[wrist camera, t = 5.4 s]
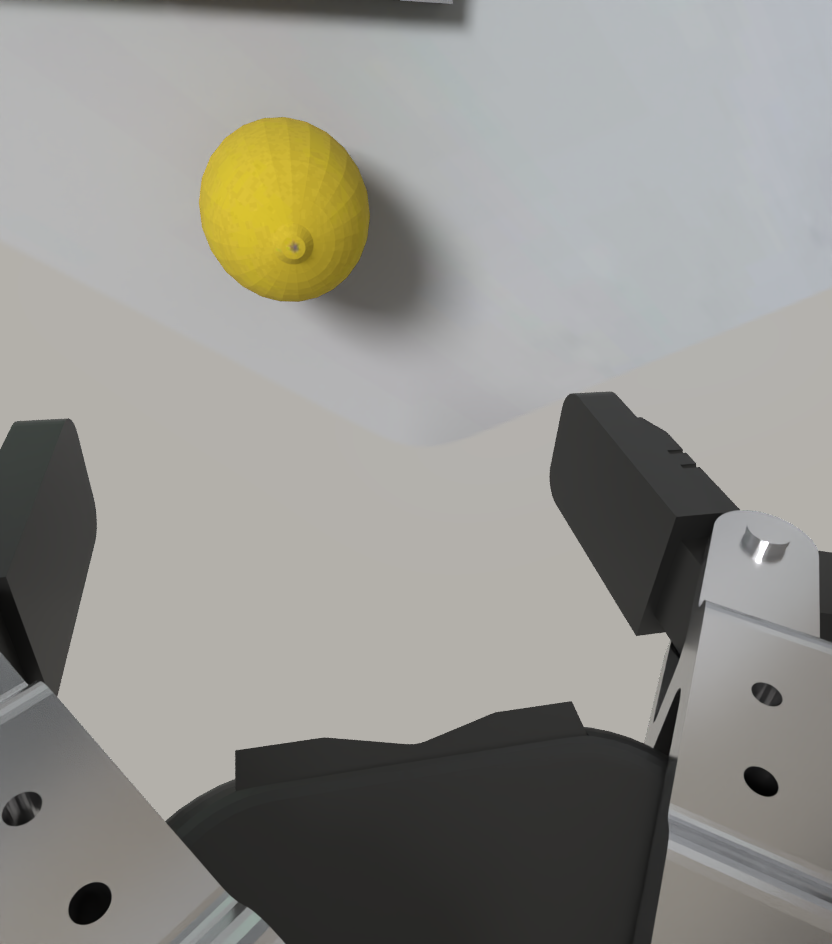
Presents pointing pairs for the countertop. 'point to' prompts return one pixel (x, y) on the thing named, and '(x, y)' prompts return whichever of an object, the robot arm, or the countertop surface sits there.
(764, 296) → the countertop surface
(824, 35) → the countertop surface
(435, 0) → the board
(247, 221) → the lemon
